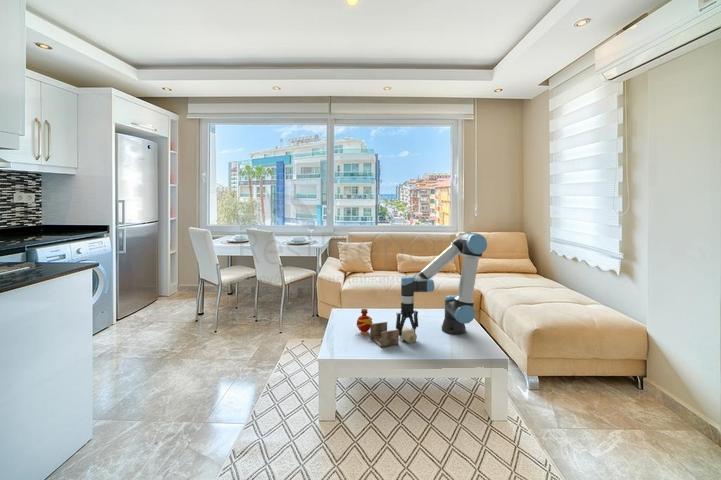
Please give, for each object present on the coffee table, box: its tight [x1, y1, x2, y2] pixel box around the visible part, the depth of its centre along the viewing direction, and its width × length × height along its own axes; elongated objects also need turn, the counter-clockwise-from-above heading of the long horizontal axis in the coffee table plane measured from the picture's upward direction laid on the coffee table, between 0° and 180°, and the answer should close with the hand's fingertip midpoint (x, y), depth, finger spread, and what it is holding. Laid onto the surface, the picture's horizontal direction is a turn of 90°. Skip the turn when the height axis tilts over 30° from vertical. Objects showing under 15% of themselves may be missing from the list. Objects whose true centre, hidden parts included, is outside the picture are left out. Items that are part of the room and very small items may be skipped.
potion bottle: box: [356, 308, 374, 335], centre depth 220 cm, size 10×10×15 cm
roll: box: [399, 325, 418, 344], centre depth 208 cm, size 7×12×7 cm, turn 22°
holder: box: [369, 321, 400, 349], centre depth 205 cm, size 11×16×9 cm
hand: (407, 339), depth 208 cm, fingers closed on roll, 7 cm apart
